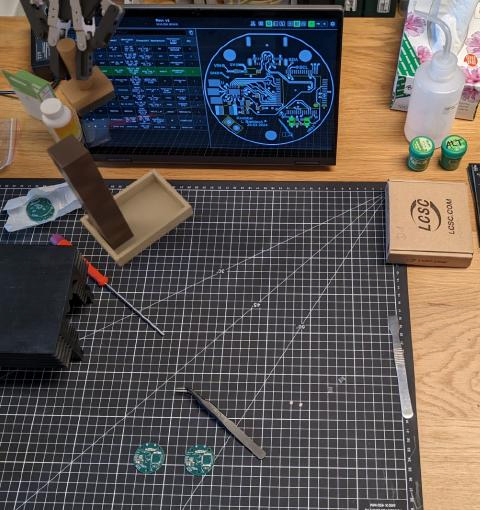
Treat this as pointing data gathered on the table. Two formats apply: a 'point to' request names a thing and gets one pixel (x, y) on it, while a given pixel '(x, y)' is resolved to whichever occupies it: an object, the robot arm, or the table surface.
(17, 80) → the ink box
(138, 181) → the tray
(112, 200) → the dark brown wooden bar
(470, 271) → the table surface
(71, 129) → the supplement bottle
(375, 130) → the table surface
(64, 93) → the wooden stamp
